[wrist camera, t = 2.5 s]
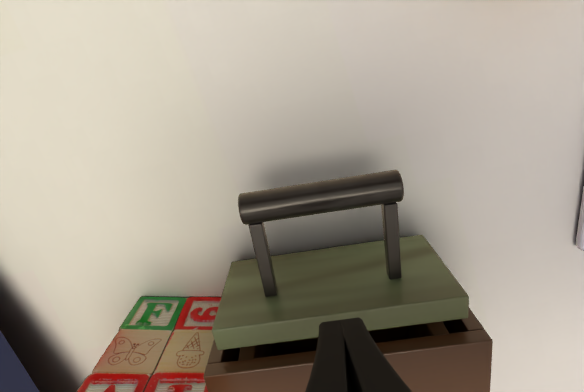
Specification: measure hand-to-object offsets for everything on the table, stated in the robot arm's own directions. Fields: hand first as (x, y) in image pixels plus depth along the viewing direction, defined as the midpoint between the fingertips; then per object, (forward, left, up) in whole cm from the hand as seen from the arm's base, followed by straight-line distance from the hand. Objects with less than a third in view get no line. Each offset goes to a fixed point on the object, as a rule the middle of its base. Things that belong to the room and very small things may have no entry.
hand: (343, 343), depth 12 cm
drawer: (0, +6, -9) cm, 11 cm away
